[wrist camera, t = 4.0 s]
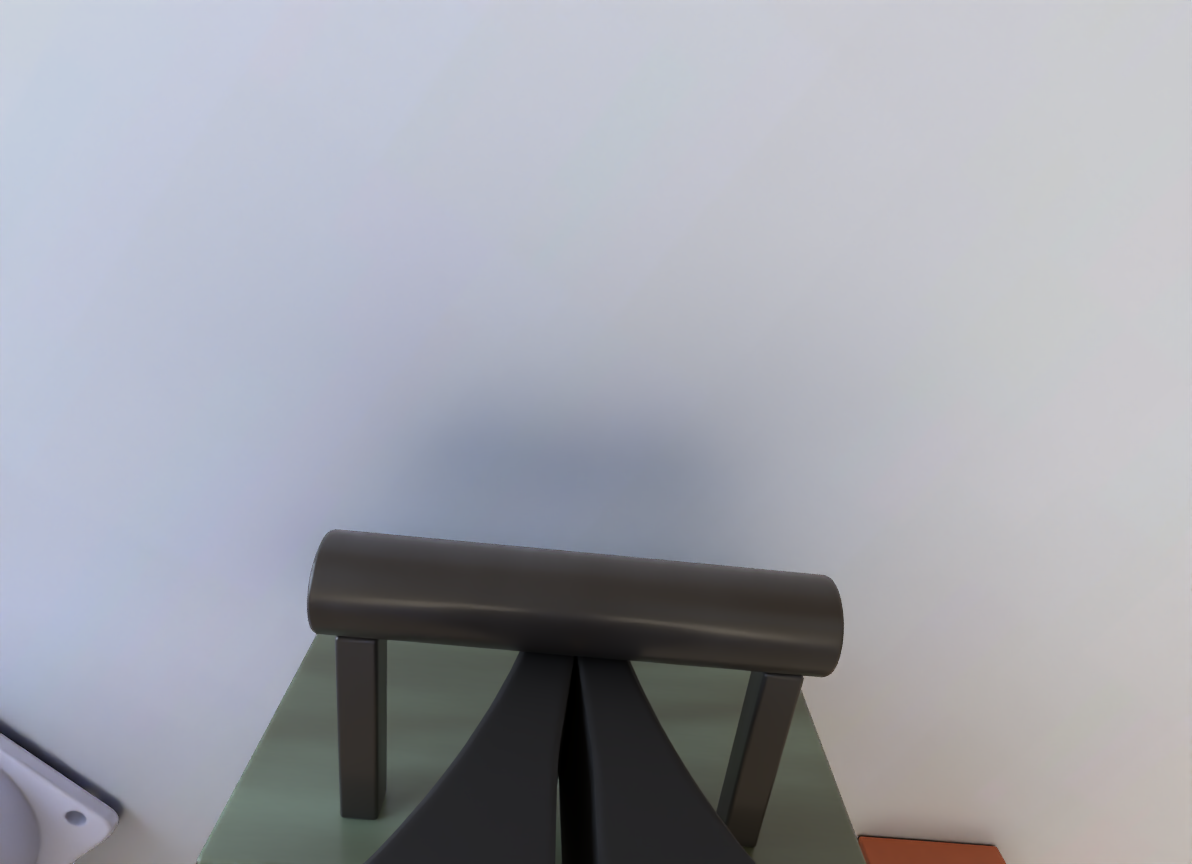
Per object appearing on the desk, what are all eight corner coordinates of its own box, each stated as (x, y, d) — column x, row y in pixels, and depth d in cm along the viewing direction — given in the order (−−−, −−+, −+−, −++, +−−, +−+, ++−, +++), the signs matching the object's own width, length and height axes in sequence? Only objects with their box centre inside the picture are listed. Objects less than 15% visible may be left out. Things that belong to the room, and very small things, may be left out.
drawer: (326, 393, 14) (151, 573, 9) (835, 445, 15) (991, 648, 9) (343, 934, 21) (248, 1246, 15) (699, 957, 21) (740, 1266, 15)
